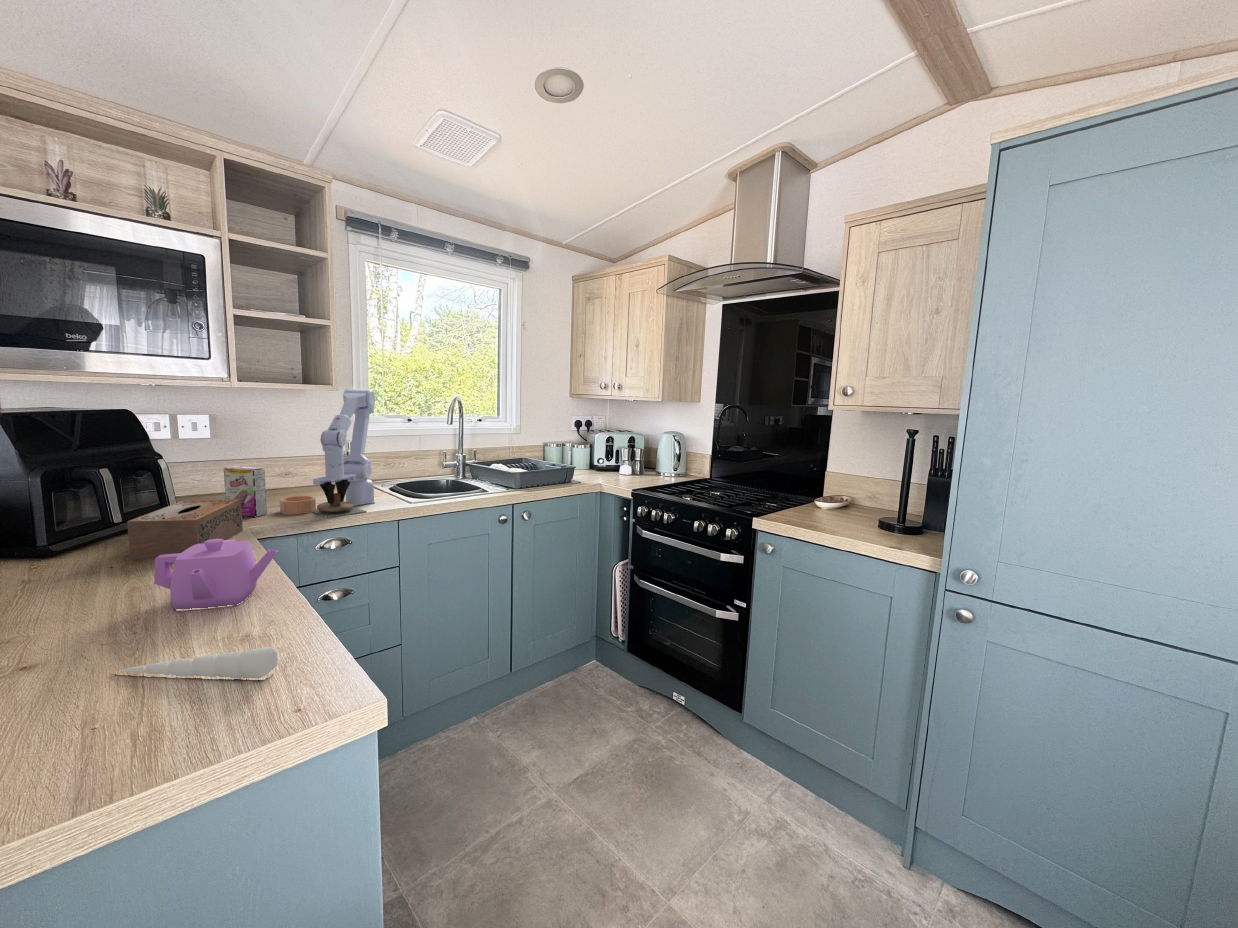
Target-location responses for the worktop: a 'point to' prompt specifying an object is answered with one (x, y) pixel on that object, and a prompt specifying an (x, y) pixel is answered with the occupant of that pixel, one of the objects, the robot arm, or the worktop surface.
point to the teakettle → (211, 573)
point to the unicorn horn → (218, 665)
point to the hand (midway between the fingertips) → (335, 502)
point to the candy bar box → (246, 489)
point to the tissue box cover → (183, 527)
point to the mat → (340, 513)
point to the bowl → (297, 504)
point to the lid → (335, 505)
